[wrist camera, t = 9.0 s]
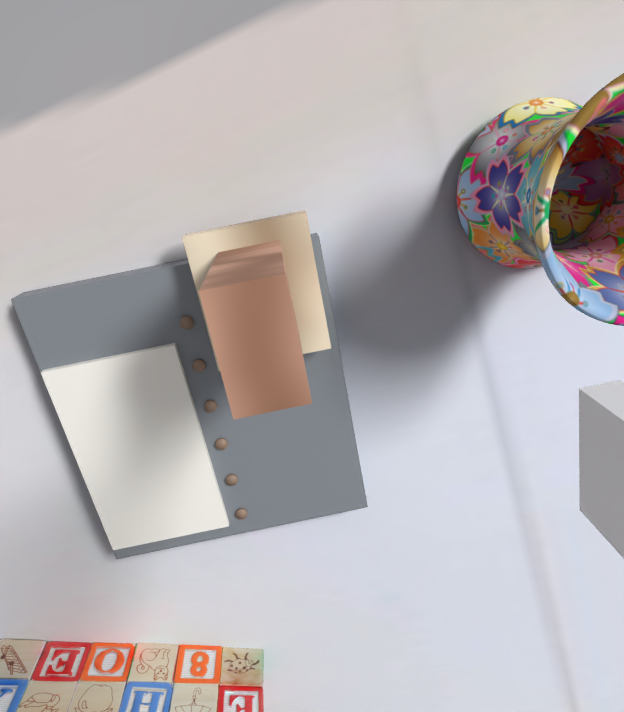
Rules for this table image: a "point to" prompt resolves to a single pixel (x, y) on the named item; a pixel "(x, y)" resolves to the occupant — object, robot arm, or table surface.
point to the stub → (260, 309)
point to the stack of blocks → (128, 677)
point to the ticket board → (183, 415)
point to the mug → (553, 196)
